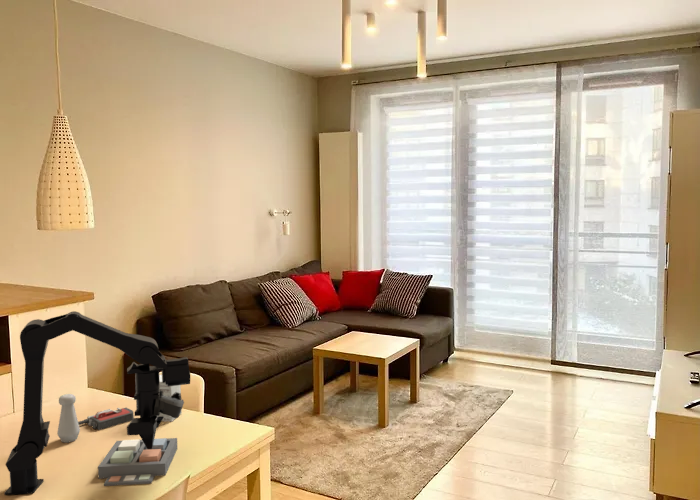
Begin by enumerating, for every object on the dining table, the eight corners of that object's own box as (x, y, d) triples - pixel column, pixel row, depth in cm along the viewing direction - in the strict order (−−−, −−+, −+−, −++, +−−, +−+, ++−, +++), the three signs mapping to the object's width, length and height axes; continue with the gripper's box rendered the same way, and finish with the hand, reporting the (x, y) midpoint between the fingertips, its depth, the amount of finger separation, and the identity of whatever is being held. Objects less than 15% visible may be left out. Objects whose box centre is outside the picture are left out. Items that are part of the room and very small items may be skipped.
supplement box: (160, 412, 192) (159, 374, 191) (182, 413, 191) (181, 374, 190) (149, 421, 185) (147, 380, 184) (172, 422, 184) (170, 381, 183)
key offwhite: (136, 453, 156) (135, 446, 156) (118, 454, 156) (118, 446, 156) (140, 446, 161) (139, 439, 161) (123, 447, 160) (122, 440, 160)
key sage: (128, 465, 149) (128, 457, 149) (110, 466, 149) (110, 458, 149) (133, 457, 154) (133, 450, 154) (115, 458, 153) (115, 451, 153)
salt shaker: (71, 444, 167) (69, 399, 166) (53, 443, 169) (50, 398, 167) (84, 436, 173) (82, 392, 172) (66, 435, 174) (64, 391, 173)
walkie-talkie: (124, 413, 193) (60, 431, 178) (124, 400, 192) (60, 416, 178) (138, 420, 187) (73, 439, 172) (138, 406, 187) (72, 424, 172)
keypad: (162, 482, 144) (161, 470, 144) (93, 486, 143) (92, 474, 142) (177, 448, 164) (177, 438, 164) (117, 451, 163) (116, 440, 162)
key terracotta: (157, 463, 150) (157, 456, 150) (139, 464, 150) (139, 457, 150) (161, 456, 154) (161, 448, 154) (143, 457, 154) (143, 449, 154)
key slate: (163, 452, 157) (163, 444, 157) (146, 453, 157) (145, 445, 156) (166, 445, 161) (166, 438, 161) (150, 446, 161) (149, 438, 161)
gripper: (173, 399, 142) (175, 463, 143) (186, 376, 161) (188, 433, 162) (125, 401, 141) (127, 465, 142) (144, 377, 159) (146, 434, 161)
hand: (150, 448), depth 152 cm, fingers closed
